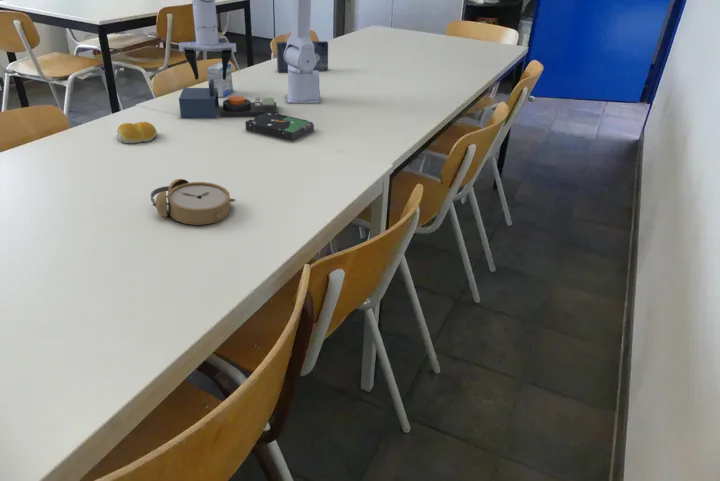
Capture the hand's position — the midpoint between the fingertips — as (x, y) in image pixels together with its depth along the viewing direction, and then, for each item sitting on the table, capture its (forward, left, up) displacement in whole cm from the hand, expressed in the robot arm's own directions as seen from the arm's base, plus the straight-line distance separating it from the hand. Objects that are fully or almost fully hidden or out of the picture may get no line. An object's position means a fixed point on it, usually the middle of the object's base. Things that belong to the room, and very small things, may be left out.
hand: (210, 78), depth 149 cm
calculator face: (-14, 0, -6) cm, 16 cm away
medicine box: (-1, -18, -10) cm, 20 cm away
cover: (+4, 0, -9) cm, 10 cm away
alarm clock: (0, +59, -10) cm, 60 cm away
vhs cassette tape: (-28, -47, -10) cm, 56 cm away
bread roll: (+17, +20, -10) cm, 28 cm away
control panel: (-10, 0, -9) cm, 14 cm away
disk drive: (-18, +16, -10) cm, 26 cm away
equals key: (-7, 0, -7) cm, 9 cm away
